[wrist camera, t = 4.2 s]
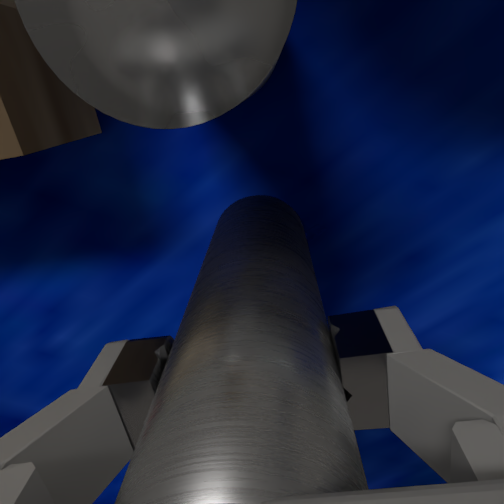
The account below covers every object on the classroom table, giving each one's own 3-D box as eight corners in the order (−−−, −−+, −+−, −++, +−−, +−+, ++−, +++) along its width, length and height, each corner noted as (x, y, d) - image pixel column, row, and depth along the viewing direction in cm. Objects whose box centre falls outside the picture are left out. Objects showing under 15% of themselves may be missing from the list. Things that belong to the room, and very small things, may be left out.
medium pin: (270, -31, 12) (276, -275, 4) (286, 92, 14) (315, 103, 5) (159, -7, 13) (-50, -183, 4) (185, 111, 14) (65, 149, 6)
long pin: (298, 188, 15) (498, 857, 2) (309, 272, 16) (469, 994, 3) (206, 203, 15) (-133, 853, 2) (224, 284, 17) (73, 976, 4)
